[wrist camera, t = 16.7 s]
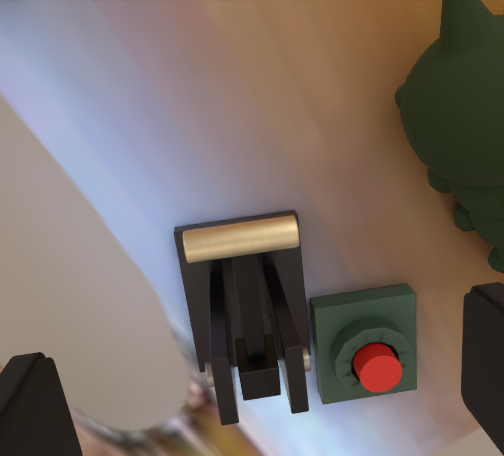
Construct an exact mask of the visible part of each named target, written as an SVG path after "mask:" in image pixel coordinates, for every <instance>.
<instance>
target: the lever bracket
mask: <svg viewBox="0 0 504 456" xmlns="http://www.w3.org/2000/svg"><path fill="white" fill-rule="evenodd" d="M291 215H293V216H295V218H296V221H297V225H298V231H299V224H298V215H297V213H296V212H295V210H292V211H285V212H278V213H271V214H264V215H257V216H250V217H243V218H236V219H229V220H222V221H215V222H208V223H201V224H194V225H187V226H180V227H175V230H174V237H175V242H176V247H177V253H178V258H179V263H180V268H181V274H182V279H183V284H184V290H185V295H186V300H187V306H188V311H189V316H190V322H191V327H192V332H193V337H194V343H195V348H196V353H197V359H198V364H199V369H200V372H205V373H206V380H207V385H208V387H215V392H216V397H217V403H218V409H219V414H220V420H221V425H228V424H234V423H239V416H238V404H237V392H236V381H235V369H234V367H238V362H237V354H236V345H235V339H237V338H244V336H243V330H242V323H241V317H240V310H239V303H238V297H237V290H236V284H235V277H234V271H233V264H232V258H231V257H227V258H220V259H213V260H206V261H199V262H193V263H188V262H187V260H186V256H185V251H184V244H183V232H184V231H187V230H194V229H201V228H208V227H215V226H222V225H229V224H236V223H243V222H250V221H257V220H264V219H271V218H277V217H284V216H291ZM256 261H257V270H258V279H259V289H260V298H261V308H262V317H263V327H264V334H270V333H272V336H273V341H274V346H275V351H276V356H277V360H279V363H280V367H281V371H282V375H283V379H284V383H285V387H286V392H287V396H288V400H289V404H290V408H291V412H292V414H294V413H301V412H307V411H309V406H308V396H307V386H306V376H305V372H309V371H311V364H310V357H309V355H311V352H310V341H309V330H308V320H307V309H306V299H305V288H304V277H303V267H302V256H301V246H300V235H299V246H298V247H295V248H288V249H281V250H274V251H268V252H261V253H256Z"/></svg>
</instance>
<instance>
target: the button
mask: <svg viewBox="0 0 504 456" xmlns="http://www.w3.org/2000/svg"><path fill="white" fill-rule="evenodd" d="M353 365H354V369H355V371H356V373H357V375H358V377H359V380H360V382H361V384H362V385H363V386H364V387H365V388H366V389H367V390H369V391H372V392H384V391H387V390H390V389H391V388H393V387H394V386H395V385H396V384H397V383H398V382H399V380H400V378H401V376H402V367H401V364H400V363H399V361H398V360H397V358H396V357H395V355H394V353H393V352H392V350H391V349H390V348H389V347H388V346H386V345H384V344H381V343H372V344H368V345H366V346H364V347H362V348H361V349H360V350H359V351H358V352H357V354H356V355H355V357H354V362H353Z"/></svg>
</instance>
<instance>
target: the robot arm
mask: <svg viewBox="0 0 504 456" xmlns="http://www.w3.org/2000/svg"><path fill="white" fill-rule="evenodd" d="M461 394H462V398H463V401H464V403H465V405H466V407H467V408H468V410H469V411H470V412H471V414H472V415H473V416H474V418H475V419H476V420H477V421H478V423H479V424H480V425H481V427H482V428H483V429H484V431H485V432H486V433H487V434H488V436H489V437H490V438H491V440H492V441H493V442H494V444H495V445H496V446H497V448H498V449H499V450H500V452H501V453H502V454H503V455H504V284H502V283H500V282H495V283H489V284H482V285H476V286H473V287H472V288H471V290H470V293H467V294H465V296H464V308H463V341H462V374H461ZM0 456H83V455H82V450H81V447H80V444H79V440H78V437H77V434H76V431H75V427H74V424H73V421H72V418H71V414H70V411H69V408H68V405H67V401H66V398H65V395H64V392H63V389H62V385H61V382H60V379H59V375H58V372H57V369H56V366H55V363H54V360H53V359H52V358H50V357H49V358H46V357H45V355H44V354H43V353H41V352H38V353H32V354H25V355H18V356H14V357H12V358H11V359H10V360H9V362H8V363H7V365H6V366H5V368H4V369H3V371H2V372H1V374H0Z"/></svg>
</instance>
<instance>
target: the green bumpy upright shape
mask: <svg viewBox="0 0 504 456" xmlns="http://www.w3.org/2000/svg"><path fill="white" fill-rule="evenodd" d="M395 102H396V104H397V106H398V107H399V108H400V113H401V120H402V124H403V128H404V131H405V133H406V136H407V139H408V141H409V143H410V145H411V147H412V148H413V150H414V151H415V153H416V154H417V156H418V157H419V159H420V160H421V161H422V162H423V163H424V164H425V165H426V166H427V167H428V170H427V174H428V180H429V183H430V186H432V187H433V188H434V189H436V190H437V191H440V192H443V193H452V194H453V196H454V197H455V198H456V200H457V201H458V202H459V203H460V204H461V205H462V207H461V208H459V209H457V210H456V212H455V213H454V219H455V225H456V227H458V228H459V229H461V230H462V231H473V230H476V231H477V232H478V234H479V235H480V236H481V237H482V238H483V239H485V240H486V241H487V242H489V243H490V244H492V245H493V246H496V247H495V248H494V249H493V250H492V251H491V252H490V253H489V256H488V261H489V264H490V266H491V267H492V269H494V270H496V271H498V272H501V273H504V15H492V13H491V12H490V11H489V10H488V9H487V8H486V6H485V5H484V4H483V3H482V2H481V0H442V13H441V27H440V37H439V38H438V39H437V40H436V41H435V42H434V43H433V44H432V45H431V46H429V48H428V49H427V50H426V51H425V52H424V53H423V54H422V56H421V57H420V58H419V60H418V61H417V63H416V64H415V65H414V67H413V69H412V71H411V72H410V74H409V75H408V77H407V80H406V82H405V83H404V84H403V85H402V86H400V87H399V88H398V90H397V91H396V94H395Z"/></svg>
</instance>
